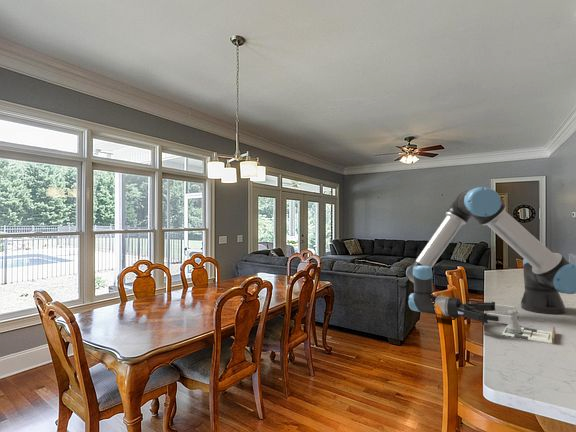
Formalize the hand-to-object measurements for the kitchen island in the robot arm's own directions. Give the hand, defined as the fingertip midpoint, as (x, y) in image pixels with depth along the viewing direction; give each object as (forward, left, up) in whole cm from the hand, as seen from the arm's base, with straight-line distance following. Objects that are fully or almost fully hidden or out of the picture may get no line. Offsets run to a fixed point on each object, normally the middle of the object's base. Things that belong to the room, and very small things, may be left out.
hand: (513, 315), depth 114 cm
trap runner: (-1, +4, -6) cm, 7 cm away
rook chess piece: (0, 0, -6) cm, 6 cm away
